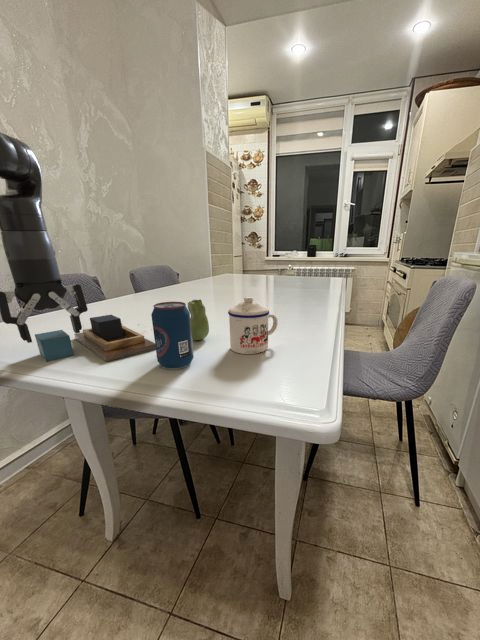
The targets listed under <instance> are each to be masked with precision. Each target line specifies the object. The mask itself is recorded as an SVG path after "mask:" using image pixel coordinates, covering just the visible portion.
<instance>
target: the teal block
mask: <svg viewBox="0 0 480 640" xmlns="http://www.w3.org/2000/svg"><path fill="white" fill-rule="evenodd" d="M34 337H35V341H36V344H37V347H38V351H39V355H40V356H41V357H42V358H43V359H44V361H45V362H49V361H56V360H59V359H64V358H68V357H73V356H75V353H74V349H73V345H72V341H71V336H70V335H69V334H68V333H67V332H65V331H64V330H63V329H57V330H53V331H46V332H41V333H35V334H34Z"/></svg>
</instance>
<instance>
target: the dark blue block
mask: <svg viewBox="0 0 480 640" xmlns="http://www.w3.org/2000/svg"><path fill="white" fill-rule="evenodd" d="M89 321H90V328H92V331H93V333H94V334H95V335H97V336H99V337H100V338H102V339H103V340H109V339H114V338H118V337H123V330H122V326H123V325H122V319H121V318H120V317H118V316H116V315H113V314H106V315H100V316H92V317H89Z"/></svg>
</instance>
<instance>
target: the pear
mask: <svg viewBox="0 0 480 640" xmlns="http://www.w3.org/2000/svg"><path fill="white" fill-rule="evenodd" d="M187 309H188V311H189V312H190V322H191V333H192V340H194V341H202V340H204V339H207V337H208V335H209V333H210V323H209V319H208V316H207V314H206V313H207V312H206V311H207V310H206V306H205V304H204V303H203V301H202V299H192V300H191V301H188V302H187Z"/></svg>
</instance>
